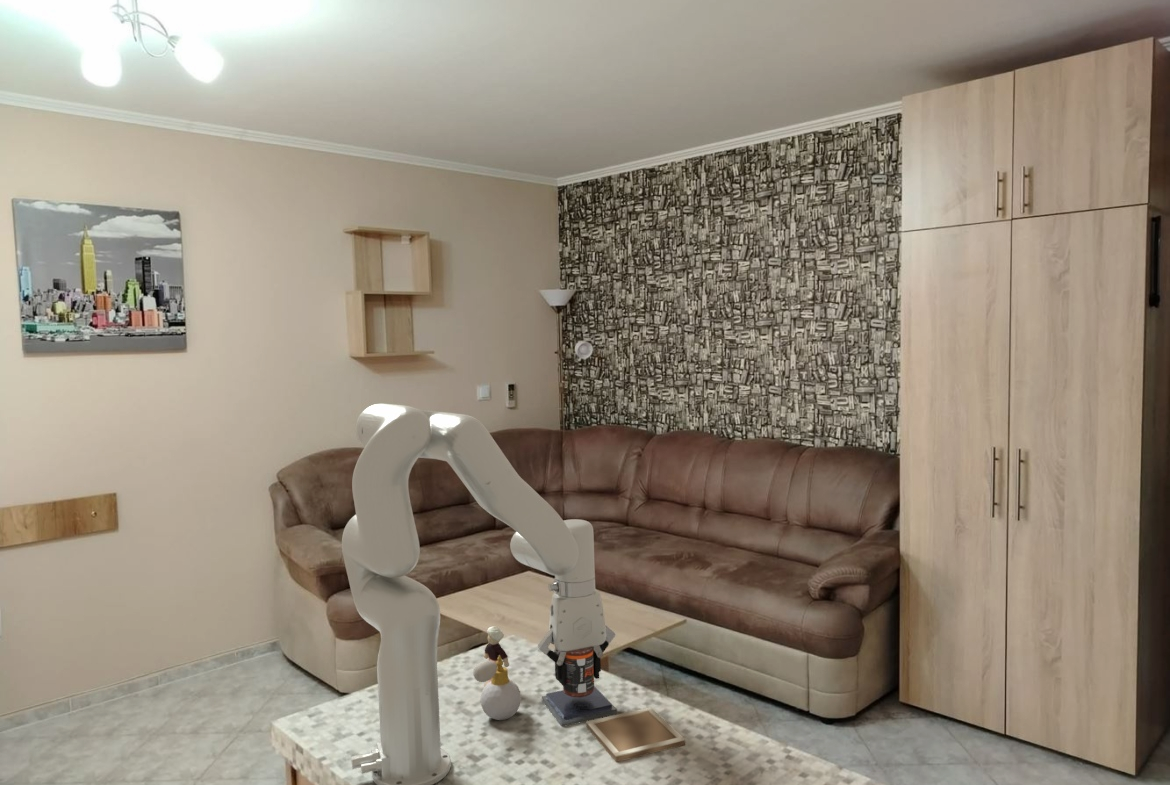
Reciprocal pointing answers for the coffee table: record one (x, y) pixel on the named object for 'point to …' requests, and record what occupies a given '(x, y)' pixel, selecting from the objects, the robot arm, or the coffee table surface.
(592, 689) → the supplement bottle
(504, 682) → the perfume bottle
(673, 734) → the framed board
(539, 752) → the coffee table surface
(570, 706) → the pad
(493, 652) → the grandmother figurine
